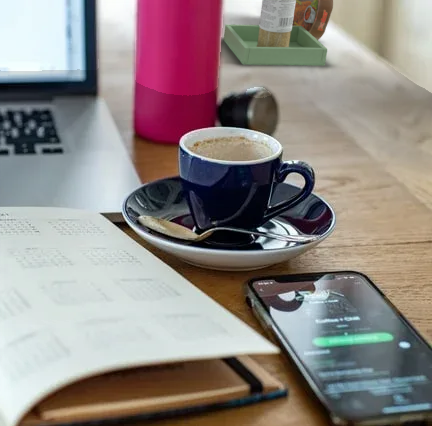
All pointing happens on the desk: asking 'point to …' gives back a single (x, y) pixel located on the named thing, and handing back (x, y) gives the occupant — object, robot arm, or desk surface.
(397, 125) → the desk surface
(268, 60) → the tray
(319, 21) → the tin
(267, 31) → the sprinkles bottle
